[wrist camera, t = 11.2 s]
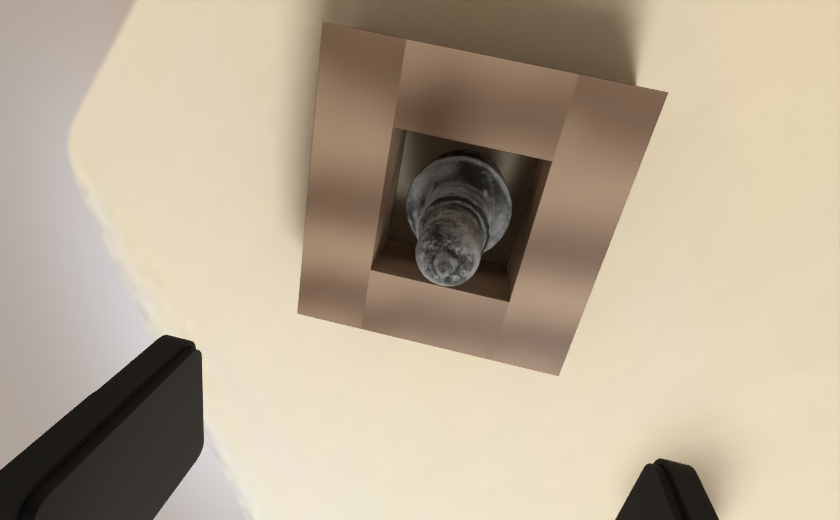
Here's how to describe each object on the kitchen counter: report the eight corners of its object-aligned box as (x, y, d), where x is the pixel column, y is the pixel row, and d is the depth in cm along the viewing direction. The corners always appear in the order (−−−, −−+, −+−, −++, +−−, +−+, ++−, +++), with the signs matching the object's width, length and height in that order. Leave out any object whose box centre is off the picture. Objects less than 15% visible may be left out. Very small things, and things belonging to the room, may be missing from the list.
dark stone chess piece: (424, 242, 31) (386, 343, 20) (407, 153, 28) (353, 210, 17) (514, 230, 29) (528, 331, 18) (503, 137, 27) (512, 188, 16)
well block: (352, 28, 26) (322, 22, 21) (636, 86, 25) (668, 92, 21) (324, 278, 33) (297, 313, 28) (548, 330, 32) (558, 376, 27)
